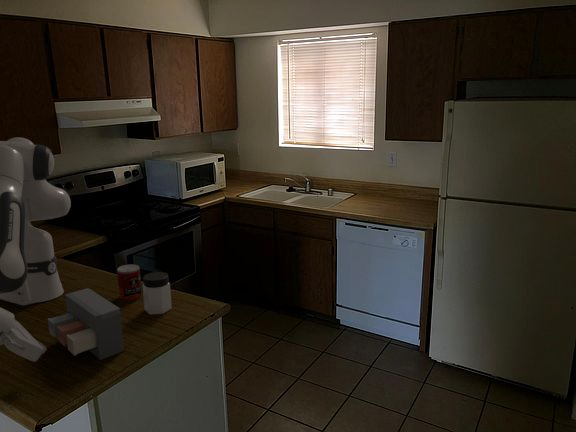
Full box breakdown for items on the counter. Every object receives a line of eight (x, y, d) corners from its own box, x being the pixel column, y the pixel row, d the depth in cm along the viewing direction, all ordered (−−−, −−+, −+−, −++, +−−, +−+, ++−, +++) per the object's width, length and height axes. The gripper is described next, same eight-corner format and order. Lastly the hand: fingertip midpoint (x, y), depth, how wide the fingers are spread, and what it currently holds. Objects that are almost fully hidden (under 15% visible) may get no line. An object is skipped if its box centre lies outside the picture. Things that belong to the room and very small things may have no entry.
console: (100, 360, 133) (95, 316, 130) (70, 334, 148) (65, 294, 145) (124, 350, 138) (120, 308, 135) (92, 326, 153) (88, 288, 149)
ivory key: (74, 355, 129) (72, 340, 128) (68, 349, 132) (66, 335, 131) (102, 345, 134) (100, 331, 133) (95, 340, 137) (93, 325, 136)
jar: (173, 303, 169) (171, 271, 166) (170, 313, 161) (167, 280, 158) (146, 304, 168) (144, 272, 165) (142, 315, 160) (139, 281, 157)
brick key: (64, 346, 134) (62, 331, 133) (58, 340, 137) (56, 326, 136) (91, 337, 139) (89, 322, 138) (85, 331, 142) (83, 318, 141)
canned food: (124, 303, 170) (121, 273, 167) (116, 296, 176) (113, 267, 173) (145, 297, 174) (143, 268, 172) (136, 290, 180) (134, 262, 178)
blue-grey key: (55, 337, 139) (53, 323, 138) (49, 332, 142) (47, 318, 141) (81, 328, 144) (79, 315, 143) (75, 324, 147) (73, 310, 146)
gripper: (17, 330, 110) (66, 353, 119) (-8, 303, 124) (38, 325, 133) (-2, 354, 108) (49, 376, 117) (-25, 324, 122) (22, 346, 131)
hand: (43, 349), depth 125 cm, fingers closed
